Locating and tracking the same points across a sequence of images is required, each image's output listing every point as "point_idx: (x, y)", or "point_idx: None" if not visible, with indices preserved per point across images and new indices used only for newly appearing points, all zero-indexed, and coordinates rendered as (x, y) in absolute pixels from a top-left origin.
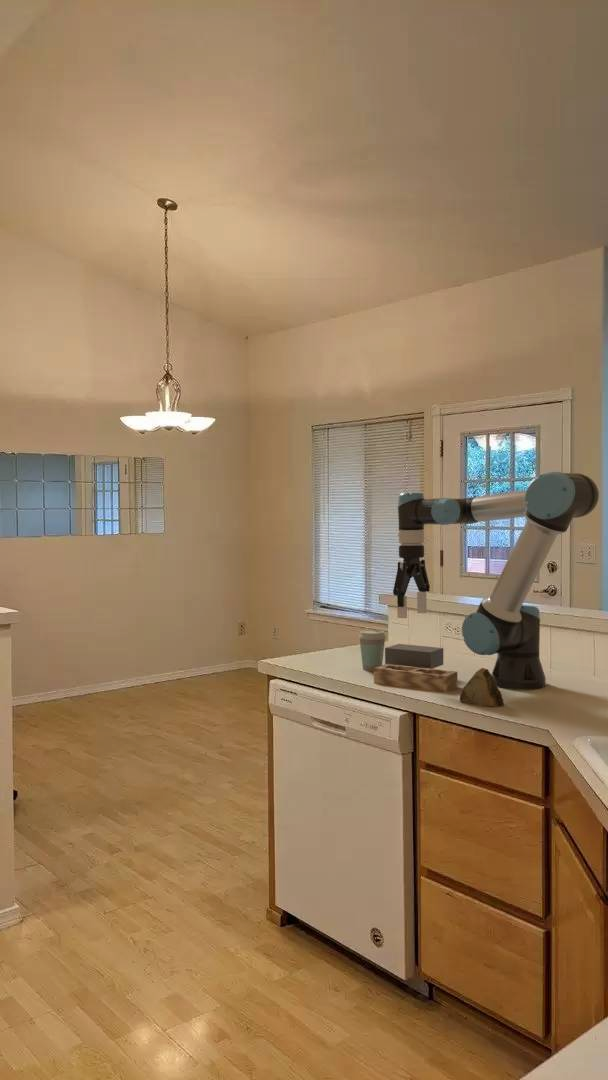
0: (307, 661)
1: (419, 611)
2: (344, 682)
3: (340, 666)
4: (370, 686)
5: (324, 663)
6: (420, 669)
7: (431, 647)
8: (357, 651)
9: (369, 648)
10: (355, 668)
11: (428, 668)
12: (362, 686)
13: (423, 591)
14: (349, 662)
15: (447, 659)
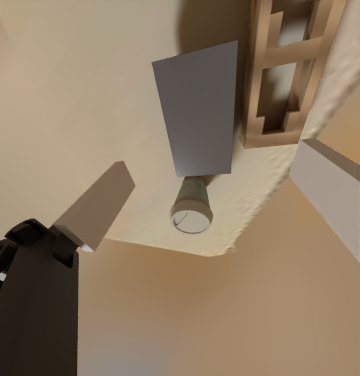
0: (198, 240)
1: (130, 183)
2: None
3: None
4: (312, 124)
5: None
6: (276, 45)
7: (166, 98)
8: (131, 232)
9: (208, 202)
10: None
11: (258, 32)
12: (316, 135)
13: (63, 236)
14: None
15: (71, 151)
